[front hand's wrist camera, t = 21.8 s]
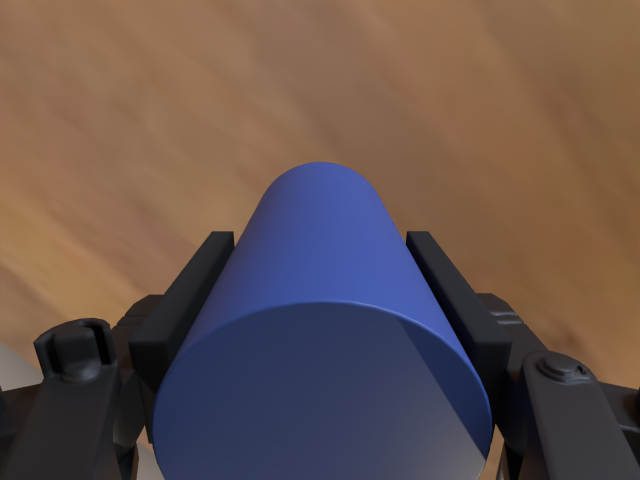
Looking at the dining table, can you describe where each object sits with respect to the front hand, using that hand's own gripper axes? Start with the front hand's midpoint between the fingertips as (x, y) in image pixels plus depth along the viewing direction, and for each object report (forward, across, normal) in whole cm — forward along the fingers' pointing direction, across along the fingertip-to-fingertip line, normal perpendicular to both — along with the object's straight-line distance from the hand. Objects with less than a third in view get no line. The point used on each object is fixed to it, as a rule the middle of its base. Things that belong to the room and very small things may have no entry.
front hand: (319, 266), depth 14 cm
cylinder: (+5, 0, 0) cm, 5 cm away
